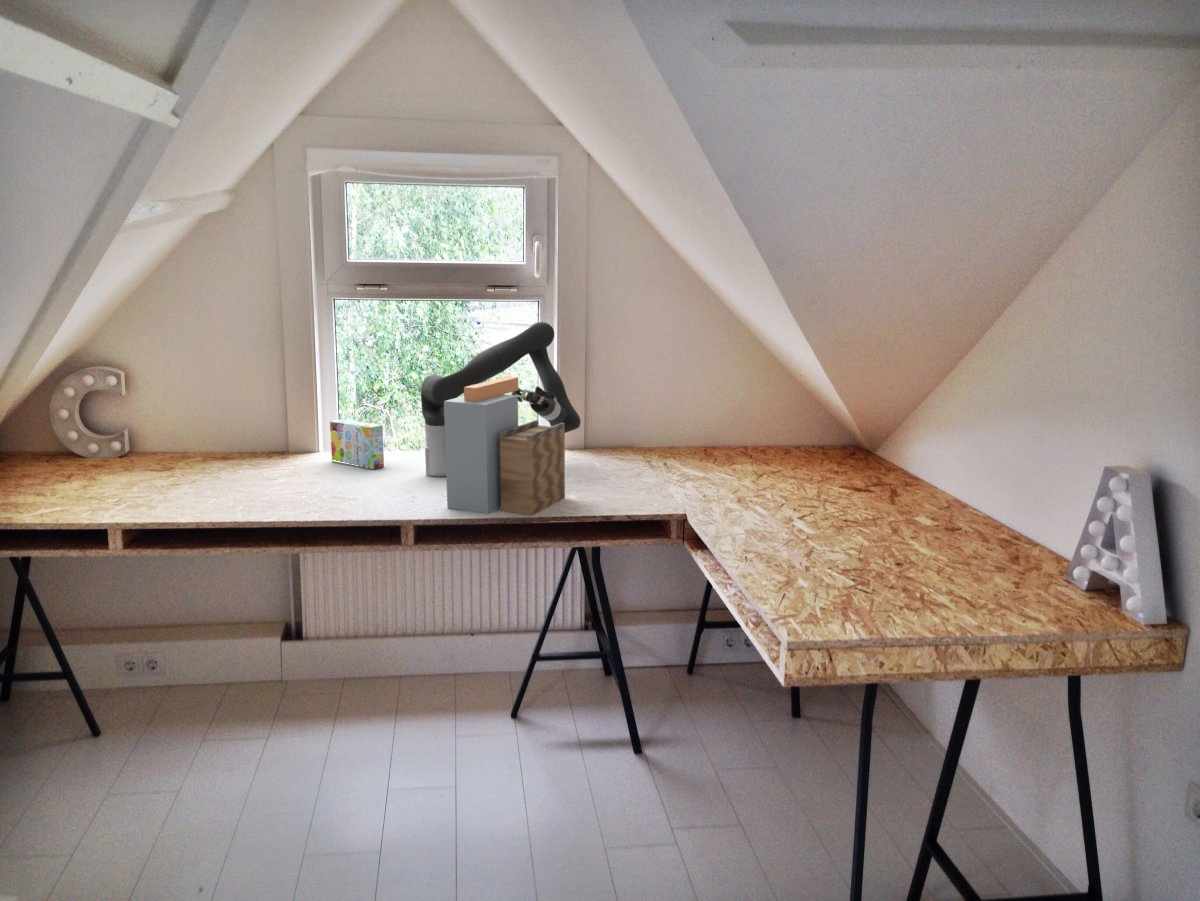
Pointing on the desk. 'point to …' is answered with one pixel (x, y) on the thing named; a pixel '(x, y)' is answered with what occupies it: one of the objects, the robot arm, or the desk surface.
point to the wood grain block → (532, 467)
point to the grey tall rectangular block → (476, 450)
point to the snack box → (357, 443)
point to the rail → (490, 389)
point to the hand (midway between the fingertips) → (524, 388)
